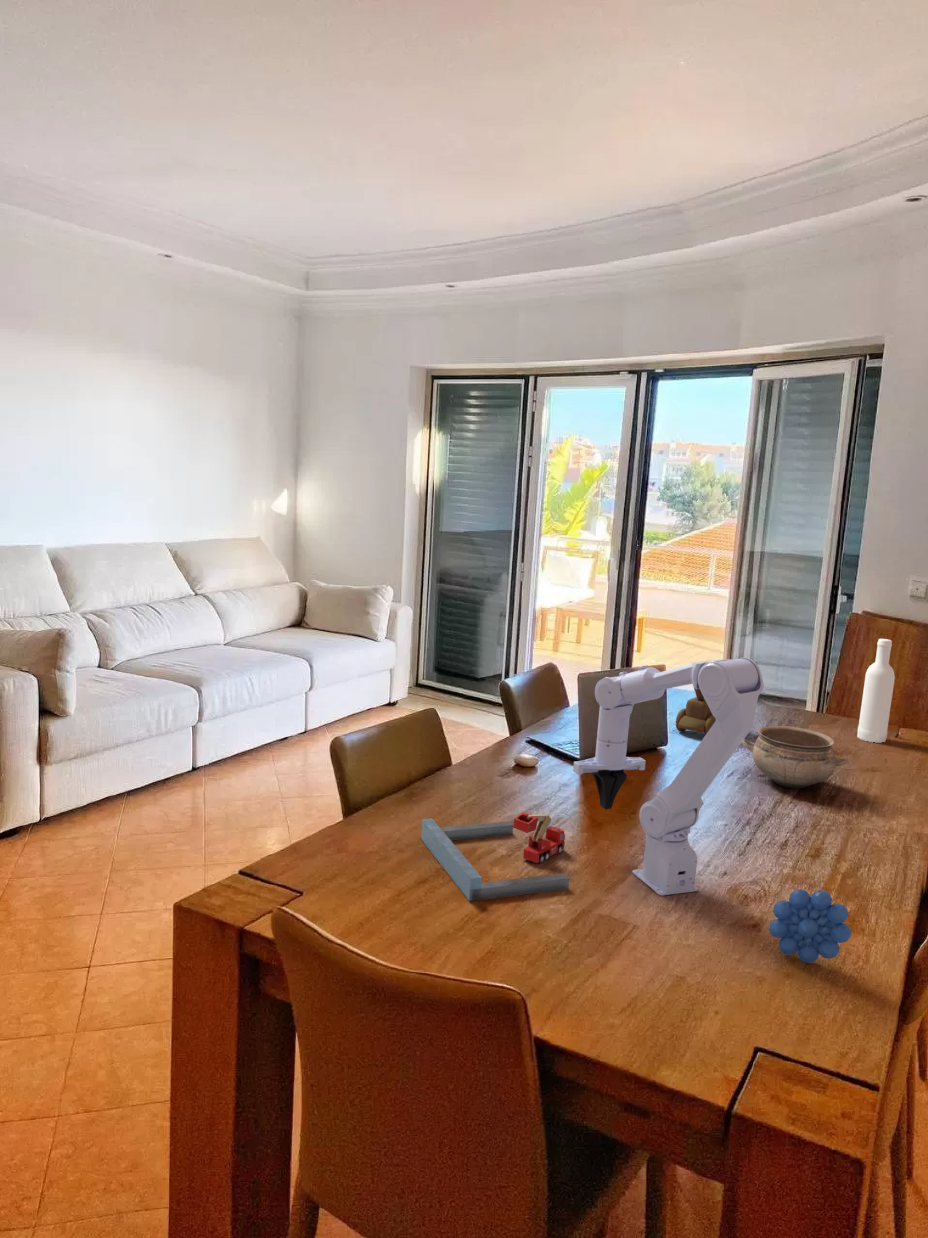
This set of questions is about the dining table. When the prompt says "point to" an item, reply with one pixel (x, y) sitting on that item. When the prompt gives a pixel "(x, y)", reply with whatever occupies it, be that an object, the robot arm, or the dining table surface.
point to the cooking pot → (793, 755)
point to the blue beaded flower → (810, 925)
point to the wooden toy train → (695, 715)
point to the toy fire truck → (540, 836)
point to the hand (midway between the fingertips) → (605, 807)
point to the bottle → (877, 696)
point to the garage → (465, 872)
